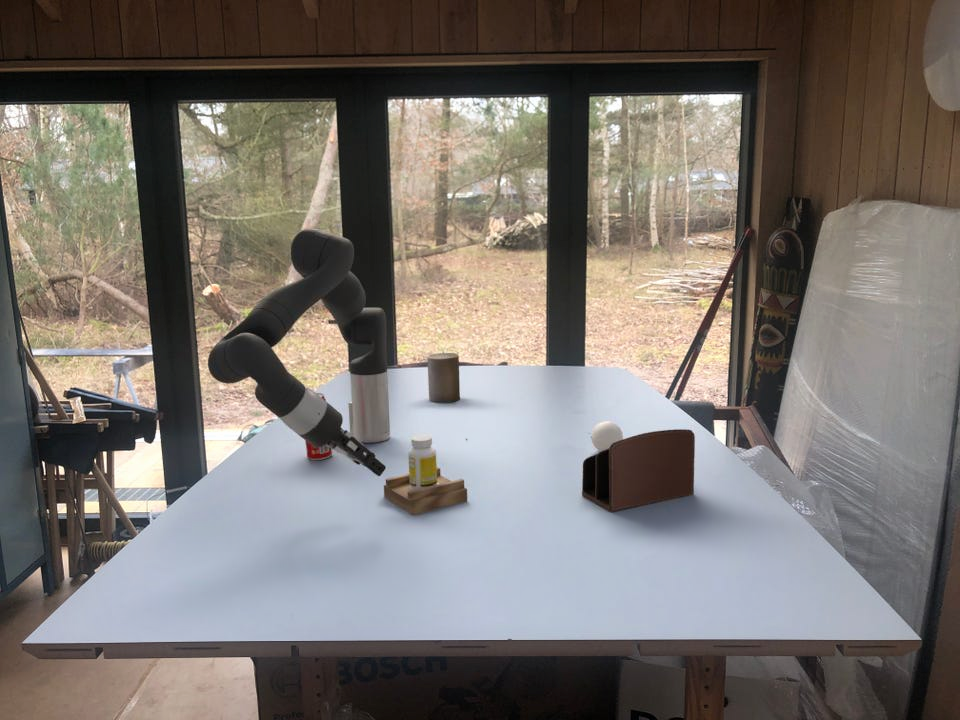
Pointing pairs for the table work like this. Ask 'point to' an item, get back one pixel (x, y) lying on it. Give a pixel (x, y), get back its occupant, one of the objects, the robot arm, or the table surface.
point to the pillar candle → (443, 377)
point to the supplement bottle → (422, 463)
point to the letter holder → (641, 470)
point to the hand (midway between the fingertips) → (371, 465)
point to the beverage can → (318, 448)
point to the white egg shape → (605, 435)
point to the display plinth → (424, 494)
